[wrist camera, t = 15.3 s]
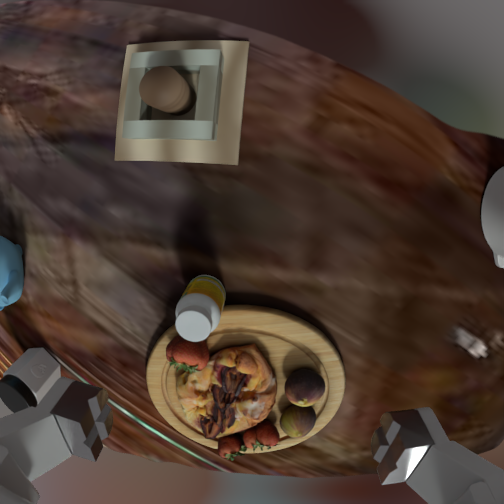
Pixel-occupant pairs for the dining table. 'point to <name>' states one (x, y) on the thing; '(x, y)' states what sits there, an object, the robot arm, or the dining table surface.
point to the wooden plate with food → (247, 381)
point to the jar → (29, 379)
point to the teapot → (10, 272)
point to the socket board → (199, 117)
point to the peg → (167, 91)
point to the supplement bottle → (200, 308)
